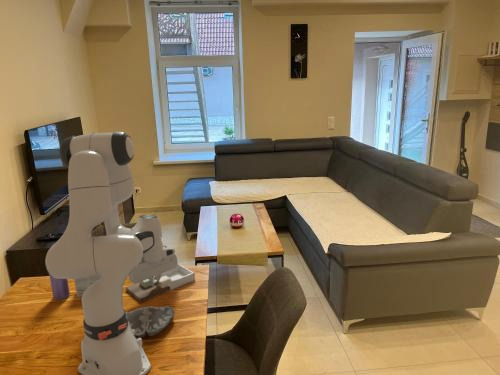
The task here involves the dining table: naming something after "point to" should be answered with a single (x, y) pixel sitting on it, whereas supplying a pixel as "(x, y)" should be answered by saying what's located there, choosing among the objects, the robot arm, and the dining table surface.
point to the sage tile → (146, 283)
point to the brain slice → (149, 320)
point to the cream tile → (164, 281)
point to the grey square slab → (146, 291)
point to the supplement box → (84, 284)
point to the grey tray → (179, 276)
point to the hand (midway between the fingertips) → (155, 284)
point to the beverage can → (59, 288)
